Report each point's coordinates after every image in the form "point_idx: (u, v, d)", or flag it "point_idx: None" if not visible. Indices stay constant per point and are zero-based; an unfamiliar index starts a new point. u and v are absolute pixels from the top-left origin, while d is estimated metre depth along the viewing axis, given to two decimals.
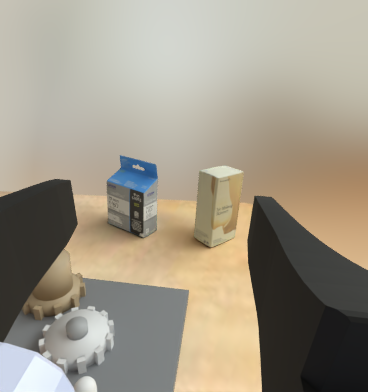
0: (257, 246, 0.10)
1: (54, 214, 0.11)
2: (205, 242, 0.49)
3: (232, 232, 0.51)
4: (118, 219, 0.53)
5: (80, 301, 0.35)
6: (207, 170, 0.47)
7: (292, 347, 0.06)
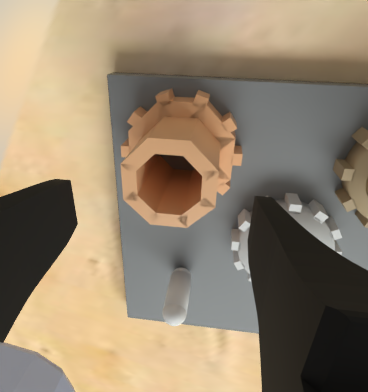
0: (257, 246, 0.10)
1: (54, 214, 0.11)
2: None
3: None
4: None
5: None
6: None
7: (292, 347, 0.06)
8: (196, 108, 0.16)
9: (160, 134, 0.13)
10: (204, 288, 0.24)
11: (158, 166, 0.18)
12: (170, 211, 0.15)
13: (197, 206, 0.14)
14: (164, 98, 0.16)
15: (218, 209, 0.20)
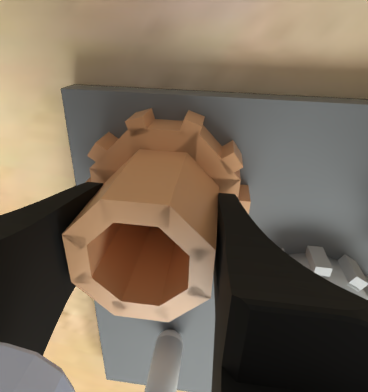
0: (217, 242, 0.10)
1: None
2: None
3: None
4: None
5: None
6: None
7: (221, 338, 0.06)
8: (184, 139, 0.11)
9: (123, 190, 0.08)
10: (200, 351, 0.19)
11: None
12: (143, 297, 0.10)
13: (183, 296, 0.09)
14: (138, 124, 0.11)
15: None
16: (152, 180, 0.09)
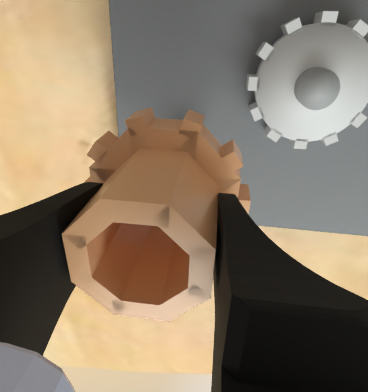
0: (216, 242, 0.10)
1: None
2: None
3: None
4: None
5: None
6: None
7: (221, 338, 0.06)
8: (184, 138, 0.11)
9: (123, 189, 0.08)
10: None
11: None
12: (143, 297, 0.10)
13: (183, 295, 0.09)
14: (138, 123, 0.11)
15: (232, 45, 0.17)
16: (152, 179, 0.09)
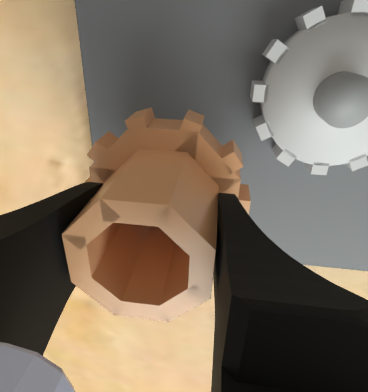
0: (217, 242, 0.10)
1: None
2: None
3: None
4: None
5: None
6: None
7: (221, 338, 0.06)
8: (184, 138, 0.11)
9: (123, 189, 0.08)
10: None
11: None
12: (143, 297, 0.10)
13: (183, 295, 0.09)
14: (138, 124, 0.11)
15: (232, 44, 0.13)
16: (152, 180, 0.09)
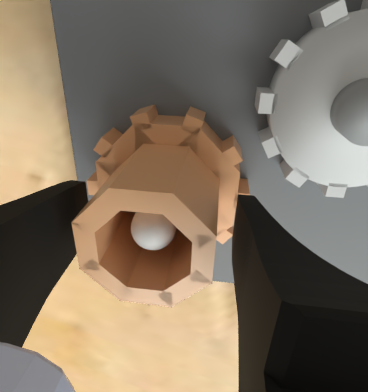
0: (238, 244, 0.10)
1: (70, 215, 0.11)
2: None
3: None
4: None
5: None
6: None
7: (259, 343, 0.06)
8: (186, 133, 0.11)
9: (129, 180, 0.09)
10: None
11: None
12: (148, 283, 0.10)
13: (185, 281, 0.10)
14: (142, 120, 0.11)
15: (234, 44, 0.11)
16: (156, 171, 0.09)
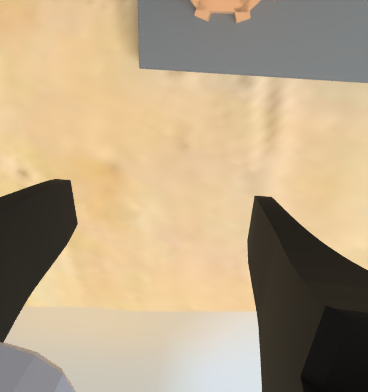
0: (257, 246, 0.10)
1: (54, 214, 0.11)
2: None
3: None
4: None
5: None
6: None
7: (292, 347, 0.06)
8: None
9: None
10: None
11: None
12: None
13: None
14: None
15: None
16: None
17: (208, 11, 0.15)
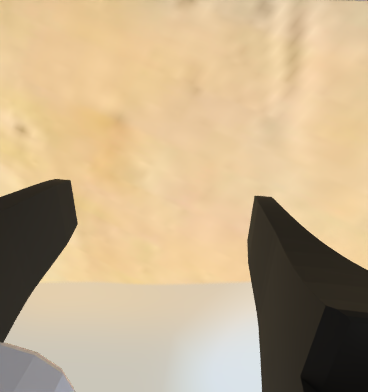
0: (257, 246, 0.10)
1: (54, 214, 0.11)
2: None
3: None
4: None
5: None
6: None
7: (292, 347, 0.06)
8: None
9: None
10: None
11: None
12: None
13: None
14: None
15: None
16: None
17: None
